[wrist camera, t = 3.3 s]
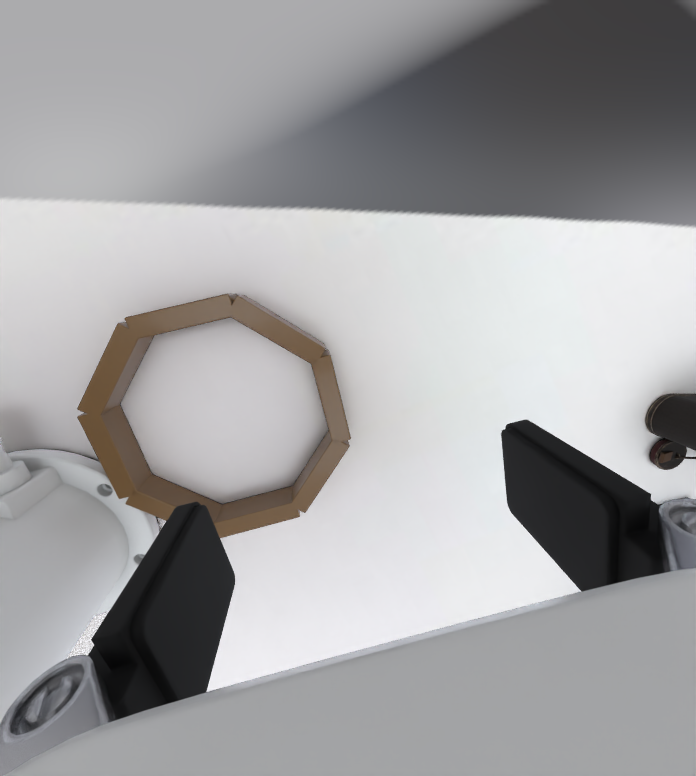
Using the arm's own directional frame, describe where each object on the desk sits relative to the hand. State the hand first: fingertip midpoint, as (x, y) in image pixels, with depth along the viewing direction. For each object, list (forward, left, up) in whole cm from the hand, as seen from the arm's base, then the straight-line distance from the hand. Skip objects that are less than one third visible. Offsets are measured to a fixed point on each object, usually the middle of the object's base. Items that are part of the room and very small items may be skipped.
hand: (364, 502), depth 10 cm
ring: (0, -7, -12) cm, 14 cm away
